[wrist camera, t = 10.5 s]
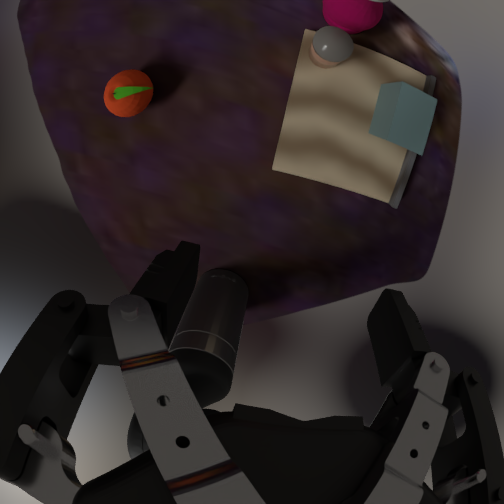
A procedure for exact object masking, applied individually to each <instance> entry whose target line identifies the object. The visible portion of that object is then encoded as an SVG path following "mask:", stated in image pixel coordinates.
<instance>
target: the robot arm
mask: <svg viewBox="0 0 504 504" xmlns="http://www.w3.org/2000/svg"><path fill="white" fill-rule="evenodd" d="M199 255H200V245H199V244H194V243H190V242H186V241H181V242H180V244H179V245H178V247H177V248H176V250H175V251H170V250H165V251H163V252H162V253H160V254H158V255H157V256H156V257H155V259H154V260H153V261H152V263H151V265H149V267H148V268H147V271H145V272H144V274H143V275H142V277H141V278H140V279H139V281H138V282H137V284H136V285H135V287H134V288H133V289H132V291H131V292H130V294H129V295H122V296H120V297H118V298H116V299H114V300H113V301H112V302H111V303H110V305H94V304H86V301H85V298H84V296H83V295H82V294H81V293H79V292H77V291H74V290H65V291H61V292H59V293H57V294H55V295H54V296H53V297H52V298H51V299H50V301H49V302H48V303H47V305H46V306H45V307H44V308H43V310H42V311H41V312H40V314H39V315H38V317H37V318H36V319H35V321H34V322H33V324H32V325H31V327H30V328H29V329H28V331H27V332H26V334H25V335H24V336H23V338H22V340H21V341H20V343H19V344H18V346H17V347H16V349H15V350H14V352H13V353H12V355H11V357H10V358H9V360H8V361H7V363H6V365H5V366H4V368H3V370H2V372H1V373H0V478H1V479H2V480H4V481H6V482H9V483H11V484H14V485H16V486H18V487H19V488H21V489H22V490H24V491H25V492H27V493H28V494H29V495H31V496H32V497H34V498H36V499H37V500H39V501H40V502H42V503H44V504H504V458H503V452H502V447H501V442H500V437H499V433H498V429H497V425H496V422H495V417H494V414H493V410H492V407H491V404H490V401H489V398H488V394H487V392H486V389H485V386H484V383H483V380H482V378H481V376H480V374H479V373H478V372H477V371H476V370H475V369H474V368H472V367H466V368H465V369H464V370H463V371H462V372H461V373H460V374H458V373H455V372H452V371H450V369H449V365H448V363H447V362H446V360H445V359H444V358H443V357H442V356H441V355H439V354H437V353H435V352H432V351H431V349H430V346H429V344H428V341H427V339H426V337H425V335H424V332H423V330H422V327H421V325H420V323H418V322H419V321H418V318H417V316H416V314H415V312H414V311H413V310H412V308H411V307H410V306H409V305H408V303H407V301H406V299H405V297H404V295H403V293H402V292H401V291H396V290H392V289H385V290H384V291H383V292H382V294H381V296H380V297H379V299H378V301H377V303H376V304H375V306H374V308H373V309H372V311H371V312H370V314H369V317H368V321H367V327H368V332H369V335H370V339H371V343H372V347H373V351H374V355H375V359H376V364H377V368H378V373H379V377H380V382H381V386H382V387H392V389H393V390H392V391H391V392H390V393H389V394H388V396H387V398H386V399H385V401H384V403H383V405H382V407H381V408H380V410H379V412H378V414H377V416H376V417H375V419H374V420H373V422H372V424H371V425H370V426H369V427H366V426H364V425H363V417H356V416H331V417H326V418H321V419H315V420H309V421H301V420H298V419H295V418H292V417H289V416H287V415H284V414H281V413H278V412H275V411H273V410H270V409H264V408H258V407H253V406H247V405H242V404H235V406H234V409H233V411H232V412H219V411H216V410H212V409H202V408H204V407H206V406H208V405H210V404H213V403H215V402H218V401H220V400H222V399H223V398H224V397H225V396H227V394H228V393H229V391H230V388H231V384H232V379H233V373H234V368H235V363H236V357H237V352H238V346H239V342H240V336H241V331H242V326H243V321H244V316H245V311H246V305H247V300H248V295H249V291H248V287H247V285H246V283H245V281H244V280H243V279H242V278H241V277H240V276H238V275H237V274H235V273H233V272H231V271H228V270H223V269H214V270H210V271H208V272H206V273H204V274H203V275H202V276H201V277H200V279H199V281H198V283H197V285H196V288H195V284H196V280H197V273H198V263H199ZM194 288H195V290H194ZM193 290H194V292H193ZM192 293H193V294H192ZM191 295H192V297H191ZM190 297H191V299H190ZM189 299H190V301H189ZM188 302H189V303H188ZM187 304H188V306H187ZM186 306H187V308H186ZM185 309H186V310H185ZM184 311H185V313H184ZM183 313H184V315H183ZM182 315H183V317H182ZM181 318H182V320H181ZM180 320H181V322H180ZM179 322H180V325H179ZM178 325H179V327H178ZM177 327H178V329H177ZM176 329H177V332H176ZM175 332H176V334H175ZM174 334H175V336H174ZM173 336H174V339H173ZM172 339H173V342H172V344H171V346H170V343H171V341H172ZM169 346H170V349H169V351H168V350H167V349H168V348H169ZM98 364H104V365H116V366H120V367H121V371H122V374H123V378H124V381H125V384H126V387H127V390H128V394H129V396H130V400H131V402H132V405H133V408H134V411H135V412H134V414H133V417H132V420H131V423H130V426H129V430H128V439H127V445H128V451H129V455H130V457H131V460H130V461H128V462H126V463H124V464H122V465H120V466H119V467H117V468H115V469H113V470H111V471H109V472H107V473H105V474H103V475H101V476H99V477H97V478H95V479H93V480H91V481H89V482H87V483H86V484H84V485H81V483H80V482H79V480H78V478H77V476H76V472H75V463H76V455H75V452H74V449H73V447H72V445H71V444H70V443H69V442H68V441H67V437H68V435H69V432H70V429H71V427H72V424H73V422H74V419H75V417H76V414H77V411H78V409H79V407H80V405H81V402H82V400H83V397H84V395H85V393H86V391H87V388H88V386H89V384H90V381H91V379H92V377H93V375H94V373H95V371H96V368H97V366H98ZM461 408H462V410H463V414H464V418H465V422H466V430H465V432H464V434H463V435H462V436H461V437H459V438H458V439H457V436H456V431H455V426H454V422H453V417H452V415H454V414H455V413H456V412H457V411H459V410H460V409H461ZM430 465H431V469H432V482H433V491H432V490H431V489H430V488H429V487H428V486H427V485H426V483H425V482H424V479H425V476H426V474H427V472H428V469H429V467H430Z"/></svg>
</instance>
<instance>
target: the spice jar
mask: <svg viewBox="0 0 504 504" xmlns="http://www.w3.org/2000/svg"><path fill="white" fill-rule="evenodd" d="M353 49H354V44H353V41H352V38H351V37H350V36H349V34H348V33H347V32H345V31H344V30H342V29H340V28H338V27H334V26H326V27H323V28H321V29H319V30H318V31H317V32H316V33H315V35H314V37H313V41H312V44H311V46H310V48H309V51H308V55H309V58H310V60H311V61H312V63H313V64H315V65H316V66H318V67H320V68H324V69H328V68H332V67H334V66H336V65H337V64H339V63H340V62H341V61H344V60H346V59H347V58H348V57H350V56H351V54H352V52H353Z"/></svg>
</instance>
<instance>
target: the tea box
mask: <svg viewBox="0 0 504 504" xmlns="http://www.w3.org/2000/svg"><path fill="white" fill-rule="evenodd" d="M436 104H437V99H435V98H434V97H432V96H430V95H428V94H426V93H424V92H423V91H421V90H419V89H417V88H415V87H413V86H411V85H409V84H407V83H405V82H403V81H401V82H393V83H386V84H381V86H380V91H379V95H378V99H377V103H376V106H375V110H374V114H373V118H372V121H371V125H370V129H369V132H368V133H369V134H372V135H374V136H377V137H380V138H382V139H385V140H387V141H389V142H392V143H394V144H397V145H399V146H401V147H404V148H406V149H408V150H410V151H413V152H415V153H417V154H419V155H421V156H422V154H423V151H424V148H425V145H426V141H427V138H428V134H429V131H430V127H431V124H432V120H433V116H434V112H435V108H436Z"/></svg>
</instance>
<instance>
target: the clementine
mask: <svg viewBox="0 0 504 504" xmlns="http://www.w3.org/2000/svg"><path fill="white" fill-rule="evenodd" d="M152 96H153V84H152V82H151V80H150V78H149V77H148V76H147V75H146V74H145V73H143V72H141V71H139V70H134V69H132V70H124V71H122V72H119V73H118V74H116V75H115V76H114V77H112V78H111V80H110V81H109V82H108V84H107V86H106V88H105V92H104V101H105V105H106V107H107V108H108V110H109V111H110V112H112V113H113V114H115V115H117V116H120V117H130V116H134V115H136V114H138V113H140V112H142V111H143V110H144V109H145V108H146V107H147V106H148V104H149V102H150V101H151V99H152Z"/></svg>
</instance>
